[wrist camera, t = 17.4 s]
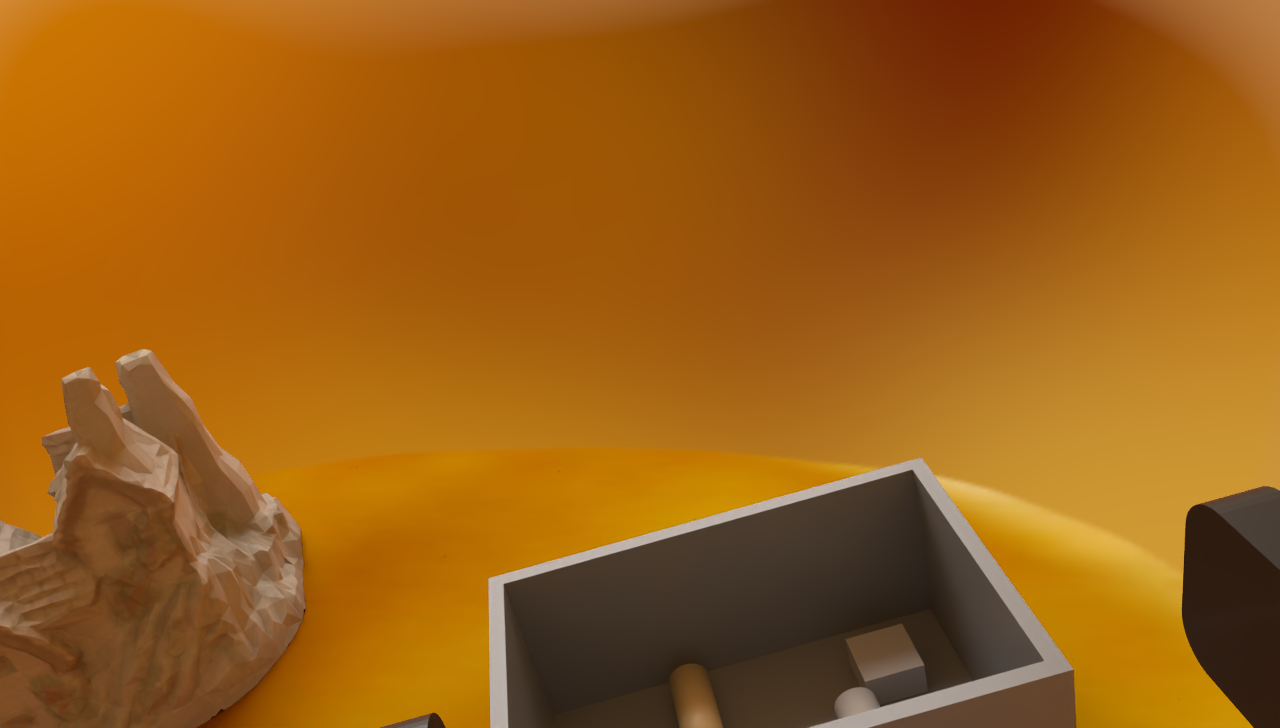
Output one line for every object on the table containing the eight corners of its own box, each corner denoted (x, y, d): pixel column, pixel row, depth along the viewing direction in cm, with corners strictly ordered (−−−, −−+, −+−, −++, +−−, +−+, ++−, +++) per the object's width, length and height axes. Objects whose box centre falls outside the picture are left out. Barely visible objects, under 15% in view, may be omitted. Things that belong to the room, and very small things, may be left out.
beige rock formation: (325, 492, 55) (182, 248, 48) (291, 731, 41) (81, 438, 33) (48, 591, 55) (-139, 362, 47) (-81, 866, 41) (-378, 601, 33)
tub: (1081, 847, 29) (1073, 669, 26) (566, 995, 29) (492, 834, 25) (940, 612, 38) (921, 457, 34) (545, 723, 38) (488, 578, 34)
